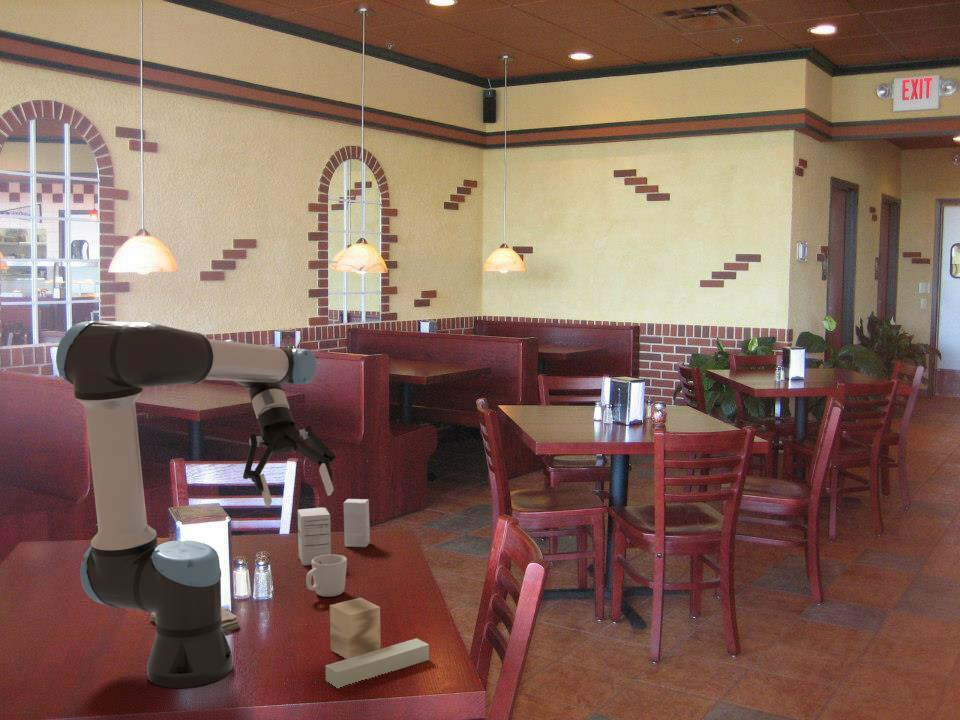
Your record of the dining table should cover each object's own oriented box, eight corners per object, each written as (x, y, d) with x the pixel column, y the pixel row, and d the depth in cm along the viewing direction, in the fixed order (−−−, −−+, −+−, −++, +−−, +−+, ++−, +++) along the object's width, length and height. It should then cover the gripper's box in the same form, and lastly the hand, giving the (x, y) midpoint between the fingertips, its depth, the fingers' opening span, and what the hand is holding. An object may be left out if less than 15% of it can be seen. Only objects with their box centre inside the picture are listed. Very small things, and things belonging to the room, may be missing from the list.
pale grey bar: (337, 688, 174) (336, 672, 174) (325, 681, 177) (325, 665, 177) (428, 659, 187) (428, 644, 186) (416, 653, 190) (416, 638, 190)
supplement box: (298, 557, 251) (297, 508, 249) (327, 554, 253) (326, 506, 251) (301, 566, 244) (300, 516, 242) (331, 563, 246) (330, 513, 244)
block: (349, 661, 186) (348, 615, 185) (330, 650, 192) (329, 605, 191) (380, 652, 191) (380, 607, 190) (361, 641, 196) (360, 597, 195)
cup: (320, 605, 216) (319, 570, 215) (295, 598, 221) (294, 563, 220) (354, 592, 224) (354, 558, 224) (330, 585, 229) (329, 551, 228)
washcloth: (193, 645, 195) (193, 630, 195) (147, 623, 207) (146, 609, 207) (244, 628, 204) (244, 614, 203) (197, 608, 216) (196, 594, 215)
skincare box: (370, 543, 263) (369, 499, 262) (366, 547, 259) (365, 503, 258) (348, 542, 264) (347, 498, 263) (343, 546, 260) (343, 502, 258)
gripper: (323, 415, 227) (351, 496, 217) (214, 431, 215) (239, 517, 205) (330, 397, 221) (359, 479, 211) (219, 413, 209) (245, 500, 199)
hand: (300, 498), depth 208 cm, fingers open, 13 cm apart
